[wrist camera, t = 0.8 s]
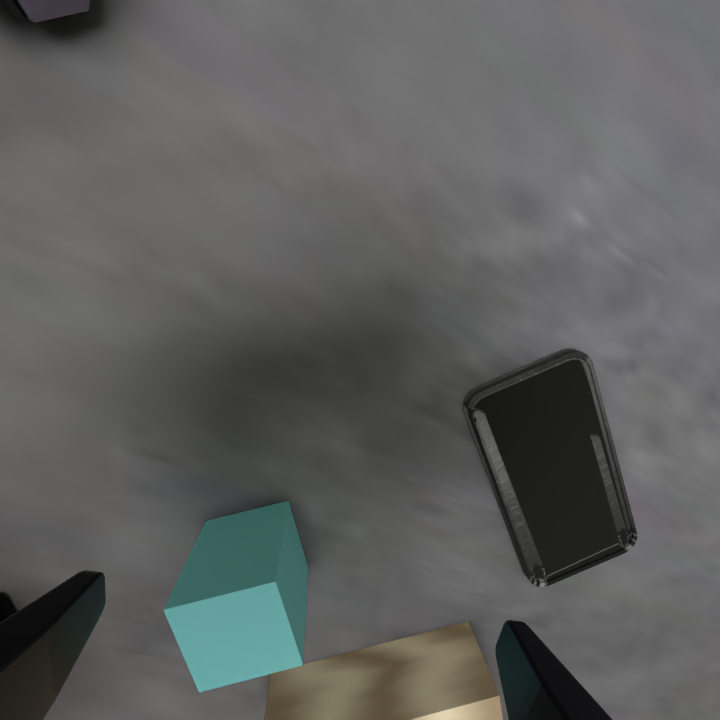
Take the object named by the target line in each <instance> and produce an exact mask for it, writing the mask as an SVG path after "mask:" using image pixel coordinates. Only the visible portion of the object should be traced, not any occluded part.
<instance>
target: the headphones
mask: <svg viewBox="0 0 720 720" xmlns="http://www.w3.org/2000/svg"><path fill="white" fill-rule="evenodd" d="M5 2H6V3H7V5H8V6H9V7H10V9H11V10H12V12H13V13H14V14H15V16H16V17H17V19H27V18H28V19H29V20H31V21H33V22H34V23H36V22H40V21H45V20H49V19H54V18H58V17H63V16H67V15H71V14H76V13H80V12H85V11H89V3H90V1H89V0H5Z"/></svg>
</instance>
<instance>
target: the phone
mask: <svg viewBox="0 0 720 720" xmlns="http://www.w3.org/2000/svg"><path fill="white" fill-rule="evenodd" d="M554 355H556V356H554ZM529 367H530V368H529ZM527 368H528V369H527ZM525 369H526V370H525ZM522 370H523V371H522ZM520 371H521V372H520ZM518 372H519V373H518ZM463 409H464V413H465V416H466V419H467V421H468V424H469V427H470V429H471V432H472V435H473V438H474V440H475V443H476V446H477V448H478V451H479V454H480V456H481V459H482V462H483V465H484V467H485V470H486V473H487V475H488V478H489V481H490V483H491V486H492V489H493V491H494V494H495V497H496V500H497V502H498V505H499V508H500V510H501V513H502V516H503V518H504V521H505V524H506V527H507V529H508V532H509V535H510V537H511V540H512V543H513V545H514V548H515V551H516V554H517V556H518V559H519V562H520V564H521V567H522V570H523V572H524V573H525V575H526V576H527V578H528V579H529V581H530V582H531V583H532V584H533V585H534V586H538V587H545V586H549V585H551V584H554V583H556V582H558V581H561V580H563V579H565V578H568V577H570V576H572V575H575V574H577V573H579V572H582V571H584V570H586V569H589V568H591V567H593V566H596V565H598V564H600V563H603V562H605V561H608V560H610V559H612V558H615V557H617V556H619V555H622V554H624V553H626V552H627V551H629V550H630V549H631V548H632V547H633V546H634V544H635V543H636V540H637V532H636V528H635V524H634V520H633V516H632V512H631V509H630V505H629V501H628V497H627V493H626V489H625V486H624V482H623V478H622V474H621V470H620V466H619V462H618V458H617V455H616V451H615V447H614V443H613V439H612V435H611V431H610V428H609V424H608V420H607V416H606V412H605V408H604V404H603V400H602V397H601V393H600V389H599V385H598V381H597V377H596V373H595V369H594V366H593V362H592V360H591V358H590V357H589V356H588V355H587V354H585V353H583V352H580V351H577V350H573V349H565V350H561V351H559V352H556V353H554V354H552V355H550V356H547V357H545V358H543V359H540V360H538V361H536V362H533V363H531V364H529V365H526V366H524V367H522V368H520V369H517V370H515V371H513V372H510V373H508V374H506V375H503V376H501V377H499V378H496V379H494V380H492V381H490V382H487V383H485V384H483V385H480V386H478V387H476V388H474V389H473V390H471V391H470V392H469V393H468V394H467V395H466V397H465V400H464V403H463Z"/></svg>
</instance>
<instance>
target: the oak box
mask: <svg viewBox="0 0 720 720" xmlns="http://www.w3.org/2000/svg"><path fill="white" fill-rule="evenodd" d="M264 720H503V717H502V710H501V704H500V697H499V694H498V691H497V689H496V686H495V684H494V682H493V679H492V677H491V674H490V672H489V670H488V667H487V665H486V662H485V660H484V658H483V655H482V653H481V650H480V648H479V646H478V643H477V641H476V638H475V636H474V634H473V631H472V629H471V626H470V624H469V622H464V623H460V624H456V625H452V626H448V627H445V628H441V629H437V630H433V631H429V632H425V633H421V634H418V635H414V636H410V637H406V638H402V639H398V640H395V641H391V642H387V643H383V644H379V645H375V646H371V647H368V648H364V649H360V650H356V651H352V652H348V653H345V654H341V655H337V656H333V657H329V658H325V659H321V660H318V661H314V662H310V663H306V664H303V665H302V666H298V667H294V668H291V669H287V670H283V671H279V672H275V673H272V674H270V680H269V688H268V696H267V703H266V711H265V718H264Z"/></svg>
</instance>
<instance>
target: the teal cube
mask: <svg viewBox="0 0 720 720" xmlns="http://www.w3.org/2000/svg"><path fill="white" fill-rule="evenodd" d="M307 584H308V565H307V561H306V558H305V555H304V551H303V548H302V545H301V541H300V538H299V535H298V531H297V528H296V525H295V521H294V518H293V514H292V511H291V508H290V504H289V501H285V502H281V503H277V504H273V505H269V506H265V507H261V508H256V509H252V510H248V511H244V512H240V513H236V514H232V515H228V516H224V517H220V518H216V519H211V520H207V521H206V522H205V524H204V526H203V528H202V530H201V532H200V534H199V537H198V539H197V541H196V543H195V545H194V547H193V549H192V551H191V553H190V555H189V557H188V560H187V562H186V564H185V566H184V568H183V570H182V572H181V574H180V576H179V578H178V581H177V583H176V585H175V587H174V589H173V591H172V593H171V595H170V597H169V599H168V601H167V604H166V606H165V608H164V612H165V615H166V617H167V619H168V622H169V624H170V626H171V629H172V631H173V633H174V636H175V638H176V640H177V642H178V645H179V647H180V649H181V652H182V654H183V656H184V659H185V661H186V663H187V666H188V668H189V670H190V672H191V675H192V677H193V679H194V682H195V684H196V686H197V689H198V691H199V693H200V692H203V691H207V690H211V689H215V688H219V687H222V686H226V685H230V684H234V683H237V682H241V681H245V680H249V679H253V678H256V677H260V676H264V675H268V674H272V673H275V672H279V671H283V670H287V669H291V668H294V667H298V666H302V665H303V658H304V640H305V621H306V603H307Z"/></svg>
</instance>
